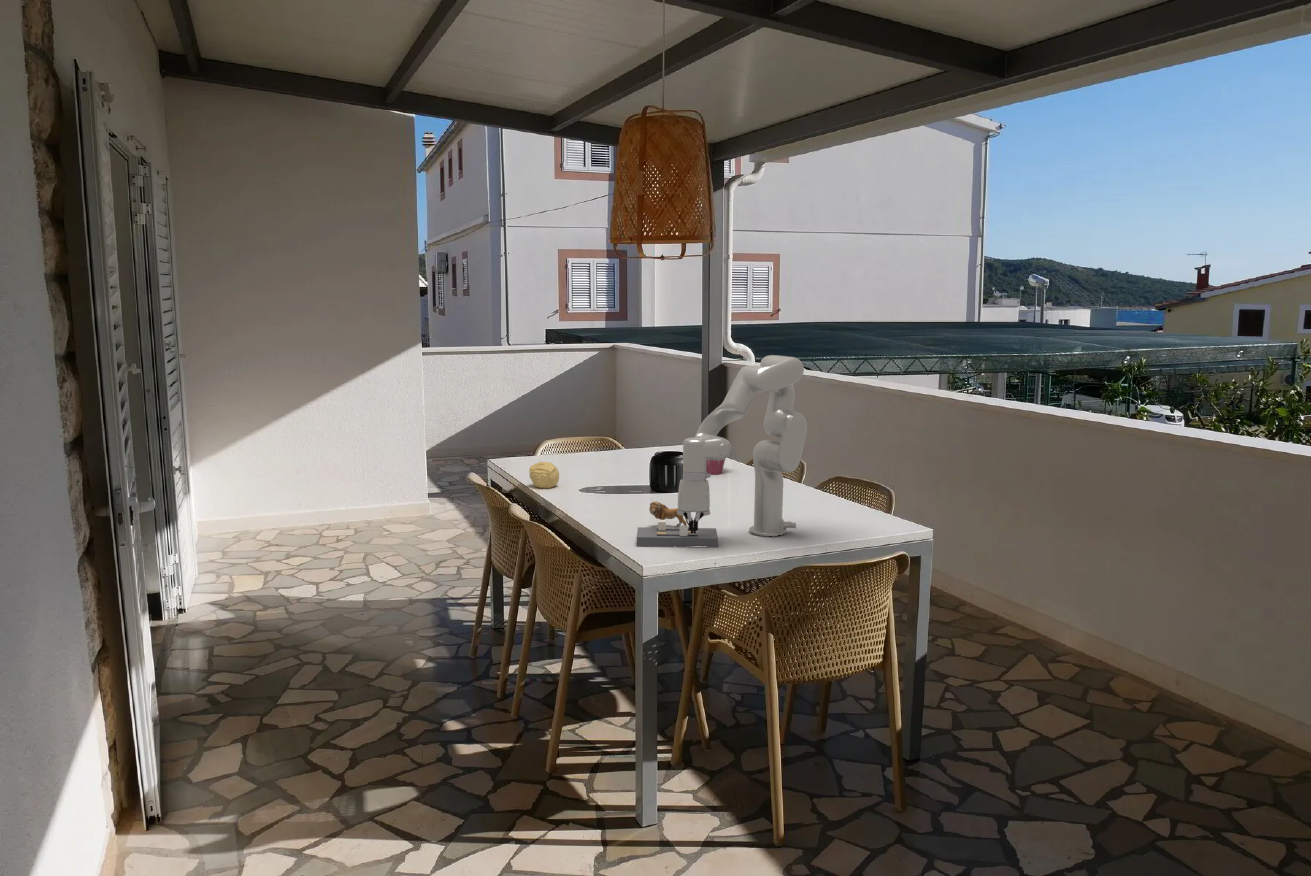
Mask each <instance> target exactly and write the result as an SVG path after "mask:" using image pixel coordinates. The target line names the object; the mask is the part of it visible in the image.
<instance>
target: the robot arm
mask: <svg viewBox="0 0 1311 876" xmlns="http://www.w3.org/2000/svg"><path fill="white" fill-rule="evenodd" d="M804 372H805V368H804V364H803V362H802V361H801V360H800V359H799V358H797V357H794V356H785V355H777V354H776V355H775V354H771V355H765V356H764V357H763V358H762V359H761V360H760V363H759V365H744V366H743V367H741V368H740V369H739V371H738V372H737V374H736V376H735V378H734V380H733V382H732V384H731V386H730V388H729V389H728V392H727V393H726V396H725V397H724V400H723V401H722V403H721V404H720V405H718V406H717V407H715V409H714V410H713V411H711V412H710V413H709V414H708V415H707V416H706V417H705V418H704V419H703V420H702V422H701V424H700V426H699V428H698V429H697V431H696V433H695V436H694V437H687V438H685V439H684V440H683V443H682V444H683V445H682V478H681V479H680V481H679V485H678V490H677V491H678V493H677V494H678V495H677V508H678V510H677V514H678V515H682V516H683V517H684V518H685V517H686V518H687V520H688V523H689V525H688V528H689V530H691V534H692V533H694V534H696V530H698V528H699V521H700V520H701V519H703V517H705V516H710V515H711V510H710V506H711V504H710V503H711V502H710V501H711V500H710V499H711V497H710V496H711V495H710V485H709V480H707V479H708V478H711V476H712V475H711V473H707V472H706V461H707V460H724V459H725V460H726V459H727V458H728V457H730V455H731V453H732V444H731V442H730V441H729V440H728V439H726V438H725V437H721V436H718V434H719V432H720V431H721V430H722V429H723V428H724V427H725V426H727V425H729V424H730V423H733V422H735V421H738V420H739V419H742V418H744V417H746V415H747V414H748V411H749V410H750V408H751V405H752V403H753V402H754V399H755V398H756V396H757V394H758V393H760V394H761V393H762V394H769V396H768V401H767V402H768V403H767V407H766V412H765V416H764V421H763V430H764V432H765V434H768V435H769V436H772V437H773V438H774V437H775V438H779V439H780V441H776V440H773V439H772V440H771V439H764V440H760V441H759V442H757V443H756V445H755V446H754V448H753V450H752V462H753V468H754V501H753V502H754V505H753V507H754V508H753V525H752V526H750V527H749V529H748V532H749V533H750V534H752V533H753V534H752V535H754V534H756V535H755V536H758V535H759V536H758V537H769V536H772V537H779V536H778V535H781V536H784V535H786V534H787V529H796V528H797V522H792V521H785V520H784V519H783V505H784V504H783V502H784V501H783V500H784V478H783V477H784V476H783V474H782V473H784V474H785V473H786V474H788V473H792V472H794V471H795V470H796V469H797V468H798V467H799V465H800V462H801V459H802V457H803V456H802V455H803V452H804V451H803V450H804V448H805V447H804V446H805V443H806V438H807V434H808V433H807V432H808V424H807V420H806V417H805V416H804V415H803V414H802V413H800V412H798V411H794V406H795V400H796V390H795V387H794V384H796V383H798V382H799V381H800V380H801V379H802V378H803V375H804ZM692 513H695V516H694V517H692ZM785 533H786V534H785ZM783 534H784V535H783Z"/></svg>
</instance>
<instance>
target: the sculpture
mask: <svg viewBox="0 0 1311 876" xmlns="http://www.w3.org/2000/svg"><path fill="white" fill-rule="evenodd" d="M528 470H529V471H528V472H529V479H530V480H531V482H532V485H533V486H534V487H536V488H537V489H551V488H554V487H556V486H557V485H558V482H559V480H560V471H559V469H558V467H557V466H556V465H554V464H553V463H552V462H547V461H539V462H537V463H535V464H532V465H530V467H529V469H528Z"/></svg>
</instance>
